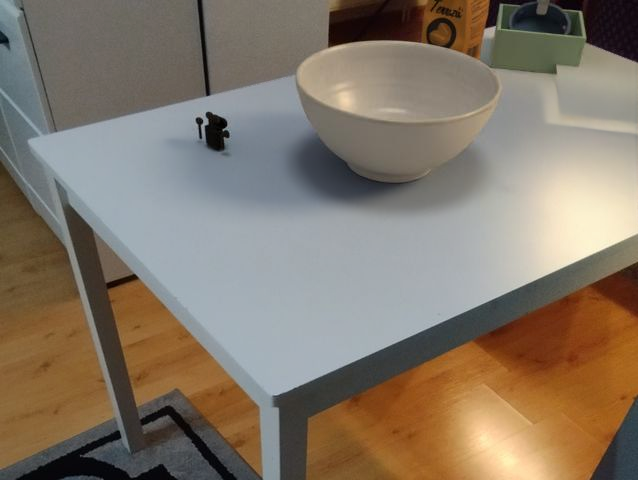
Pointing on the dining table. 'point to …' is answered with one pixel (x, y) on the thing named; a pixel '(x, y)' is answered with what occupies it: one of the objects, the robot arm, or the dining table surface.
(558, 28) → the blue-grey round shallow container
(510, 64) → the tub
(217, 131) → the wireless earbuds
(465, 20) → the coffee package
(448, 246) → the dining table surface
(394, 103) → the decorative bowl
